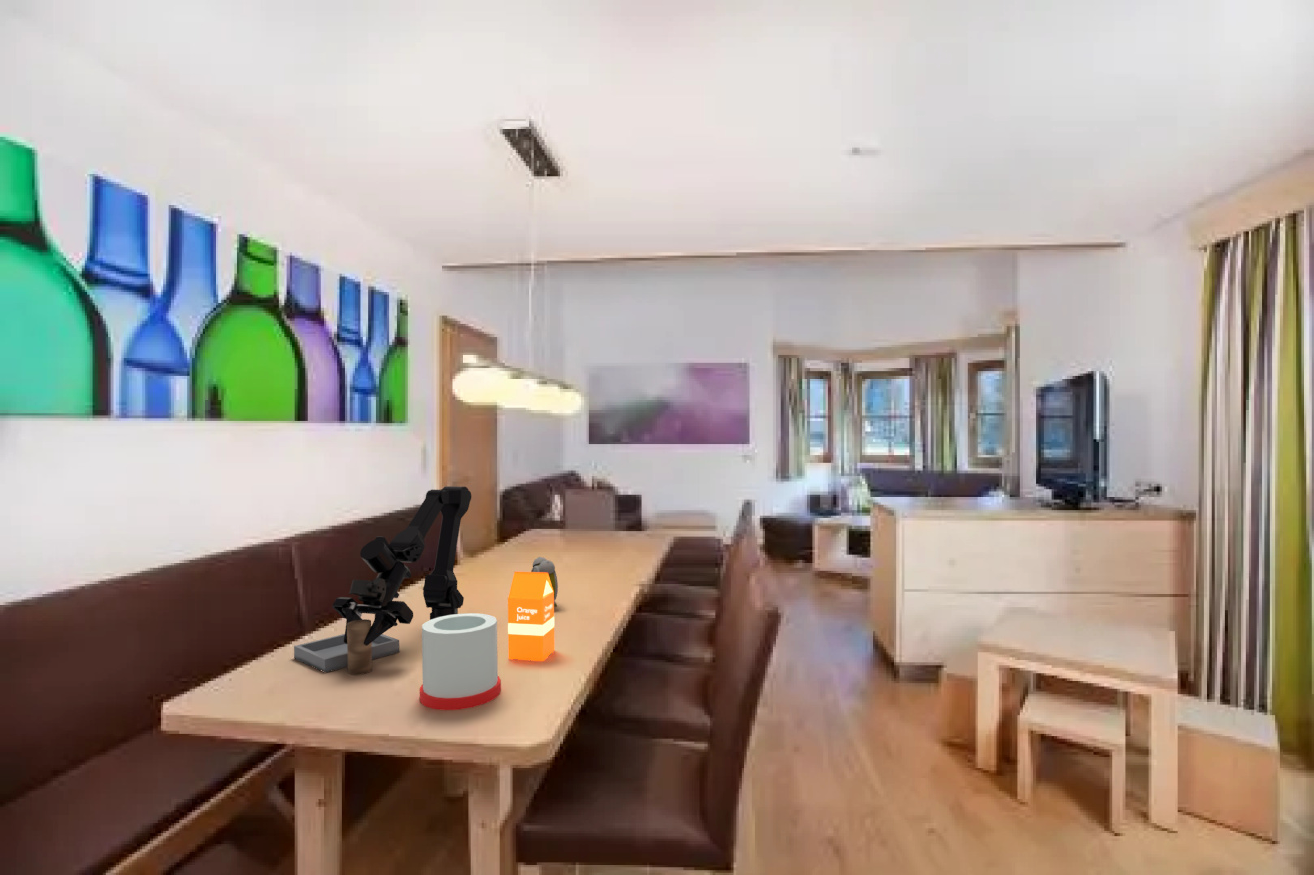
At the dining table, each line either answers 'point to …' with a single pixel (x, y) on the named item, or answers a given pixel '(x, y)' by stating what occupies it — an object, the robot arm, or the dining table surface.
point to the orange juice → (530, 616)
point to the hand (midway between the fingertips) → (355, 643)
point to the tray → (339, 651)
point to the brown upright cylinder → (358, 647)
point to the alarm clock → (547, 567)
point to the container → (459, 661)
